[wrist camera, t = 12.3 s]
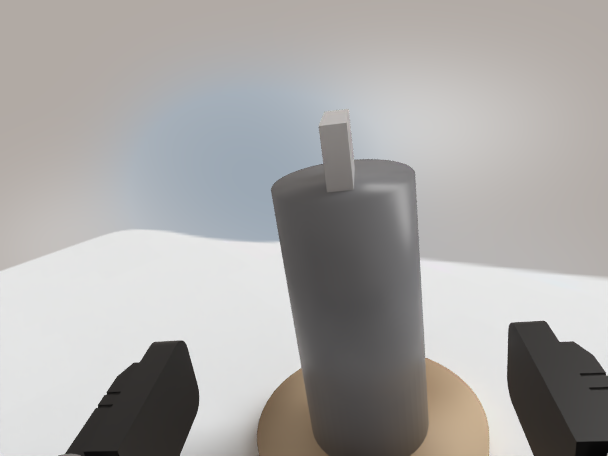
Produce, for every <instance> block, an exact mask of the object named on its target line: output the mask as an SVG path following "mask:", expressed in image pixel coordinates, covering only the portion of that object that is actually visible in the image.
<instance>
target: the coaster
mask: <svg viewBox="0 0 608 456" xmlns="http://www.w3.org/2000/svg"><path fill="white" fill-rule="evenodd" d="M425 363H426V382H427V400H428V418H429V427H428V432H427V436H426V438H425V440H424V442H423V443H422V444H421V446H420V447H419V448H418V449H417V450H416V451H415V452H414V453H413V454H411V455H410V456H489V426H488V422H487V417H486V414H485V412H484V409H483V407H482V404H481V403H480V401H479V399H478V398H477V396H476V394H475V393H474V392H473V391H472V389H471V388H470V387H469V386H468V385H467V384H466V383H465V382H464V381H463V380H462V379H461V378H460V377H459V376H457V375H456V374H455V373H453V372H452V371H450V370H449V369H447V368H446V367H444V366H442V365H440V364H439V363H436V362H434V361H432V360H430V359H428V358H425ZM257 445H258V451H259V456H329V455H328V454H326V453H325V452H324V451H323V450H322V449H321V447H320V446H319V445H318V443H317V442H316V440H315V438H314V435H313V431H312V425H311V419H310V413H309V408H308V402H307V396H306V390H305V384H304V379H303V373H302V368H301V369H299V370H298V371H296V372H295V373H294V374H292V375H291V376H290V377H288V378H287V379H286V380H285V381H284V382H283V383H282V384H281V385H280V386H279V387H278V388H277V389H276V390H275V391H274V393H273V394H272V395H271V397H270V398H269V400H268V401H267V403H266V405H265V407H264V409H263V411H262V414H261V417H260V420H259V425H258V431H257Z"/></svg>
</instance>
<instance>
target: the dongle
mask: <svg viewBox="0 0 608 456" xmlns="http://www.w3.org/2000/svg"><path fill="white" fill-rule="evenodd" d="M319 133H320V140H321V149H322V157H323V164H320V165H316V166H312V167H308V168H304V169H301V170H298V171H296V172H293V173H290V174H288V175H286V176H284V177H282V178H281V179H279V180H278V181H276V182H275V183H274V184H273V186H272V188H271V192H272V199H273V204H274V210H275V216H276V222H277V228H278V233H279V239H280V245H281V251H282V257H283V263H284V268H285V274H286V280H287V286H288V292H289V297H290V303H291V309H292V315H293V321H294V326H295V332H296V338H297V344H298V350H299V355H300V361H301V367H302V373H303V379H304V384H305V390H306V396H307V402H308V408H309V413H310V419H311V425H312V431H313V435H314V438H315V440H316V442H317V443H318V445H319V446H320V447H321V449H322V450H323V451H324V452H325V453H326V454H328V455H329V456H410V455H411V454H413V453H414V452H415V451H416V450H417V449H418V448H419V447H420V446H421V444H422V443H423V442H424V440H425V438H426V436H427V432H428V427H429V418H428V400H427V382H426V363H425V345H424V327H423V309H422V291H421V272H420V255H419V236H418V218H417V200H416V183H415V171H414V170H413V169H412V168H411V167H410V166H408V165H406V164H403V163H399V162H395V161H389V160H376V159H374V160H373V159H362V160H361V159H360V160H354V155H353V146H352V137H351V126H350V117H349V109H344V110H336V111H328V112H324V114H323V117H322V119H321V122H320V124H319Z"/></svg>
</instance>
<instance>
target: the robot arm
mask: <svg viewBox="0 0 608 456" xmlns="http://www.w3.org/2000/svg"><path fill="white" fill-rule="evenodd" d="M507 381H508V389H509V394H510V398H511V401H512V404H513V407H514V409H515V411H516V414H517V416H518V419H519V421H520V423H521V426H522V428H523V431H524V433H525V436H526V438H527V440H528V443H529V445H530V448H531V450H532V452H533V455H534V456H608V376H606V372H605V371H604V369H603V368H602V367H601V365H600V364H599V362H598V361H597V360H596V358H595V357H594V356H593V355H592V354H591V353H589V352H588V351H586V350H585V349H583V348H582V347H580V346H579V345H578V344H576V343H575V342H559V341H558V339H557V338H556V336H555V334H554V333H553V331H552V330H551V328H550V327H549V325H548V324H547V322H545V321H532V322H515V323H510V325H509V330H508V364H507ZM198 406H199V389H198V385H197V381H196V377H195V374H194V370H193V366H192V363H191V359H190V355H189V352H188V348H187V345H186V343H185V342H184V341H164V342H154V343H152V344H151V346H150V347H149V349H148V350H147V352H146V353H145V355H144V357H143V358H142V360H141V361H140V363H133V364H132V365H131V366H129V367H128V368H127V369H126V370H125V371H123V372H122V373H121V374H120V375H119V376H117V378H116V379H115V381H114V382H113V384H112V385H111V387H110V388H109V389H108V391H107V395H104V397H103V398H102V400H101V401H100V403H99V404H98V408H96V409H95V410H94V412H93V413H92V415H91V416H90V418H89V419H88V421H87V422H86V424H85V425H84V427H83V428H82V430H81V431H80V433H79V434H78V435H77V437H76V438H75V440H74V441H73V443H72V444H71V446H70V447H69V449H68V450H67V452H66V453H65V454H64V455H59V456H180V453H181V451H182V448H183V446H184V444H185V441H186V439H187V436H188V434H189V431H190V429H191V426H192V424H193V421H194V419H195V416H196V414H197V411H198Z"/></svg>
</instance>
